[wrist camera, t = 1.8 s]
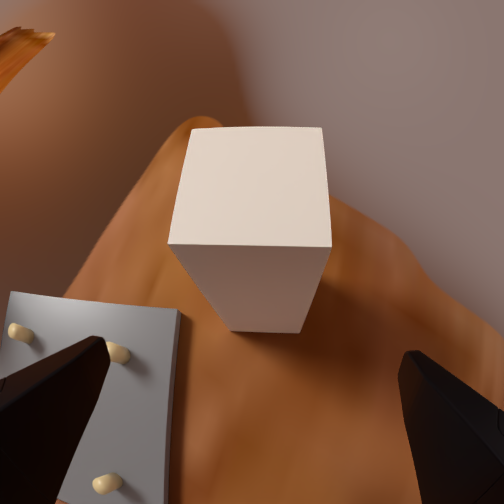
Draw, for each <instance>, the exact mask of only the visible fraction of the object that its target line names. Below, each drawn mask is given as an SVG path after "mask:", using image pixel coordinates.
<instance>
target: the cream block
mask: <svg viewBox="0 0 504 504" xmlns="http://www.w3.org/2000/svg"><path fill="white" fill-rule="evenodd" d="M168 245H169V247H170V248H171V250H172V251H173V253H174V254H175V255H176V257H177V258H178V260H179V261H180V263H181V264H182V265H183V267H184V268H185V270H186V271H187V273H188V274H189V275H190V277H191V278H192V280H193V281H194V282H195V284H196V285H197V287H198V288H199V289H200V291H201V292H202V294H203V295H204V296H205V298H206V299H207V300H208V302H209V303H210V305H211V306H212V307H213V309H214V310H215V311H216V313H217V314H218V315H219V317H220V318H221V319H222V321H223V322H224V323H225V325H226V326H227V327H228V329H229V330H230V331H243V332H269V333H300V331H301V329H302V326H303V323H304V321H305V318H306V316H307V313H308V311H309V308H310V306H311V303H312V300H313V298H314V295H315V292H316V290H317V287H318V284H319V282H320V279H321V276H322V273H323V271H324V268H325V265H326V262H327V260H328V257H329V254H330V251H331V248H332V240H331V223H330V209H329V196H328V185H327V174H326V163H325V154H324V144H323V135H322V128H311V127H223V128H202V129H192V132H191V136H190V140H189V144H188V148H187V152H186V157H185V161H184V165H183V170H182V174H181V179H180V183H179V188H178V193H177V198H176V203H175V207H174V213H173V218H172V223H171V228H170V234H169V239H168Z"/></svg>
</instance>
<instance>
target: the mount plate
mask: <svg viewBox="0 0 504 504" xmlns="http://www.w3.org/2000/svg"><path fill="white" fill-rule="evenodd" d="M180 321H181V312H180V311H179V310H178V309H169V308H156V307H143V306H132V305H121V304H111V303H101V302H92V301H83V300H74V299H66V298H58V297H50V296H42V295H35V294H28V293H21V292H14V291H11V294H10V298H9V303H8V308H7V313H6V318H5V324H4V329H3V335H2V341H1V348H0V379H2V378H4V377H7V376H8V375H11V374H13V373H15V372H17V371H19V370H21V369H23V368H25V367H27V366H29V365H31V364H33V363H35V362H37V361H40V360H42V359H44V358H46V357H48V356H50V355H52V354H54V353H56V352H58V351H60V350H62V349H64V348H66V347H69V346H71V345H73V344H75V343H77V342H79V341H81V340H83V339H85V338H87V337H89V336H92V335H94V336H101V337H103V338H104V339H105V341H106V345H107V348H108V351H109V354H110V358H111V363H110V367H109V370H108V372H107V375H106V378H105V381H104V384H103V387H102V390H101V393H100V396H99V399H98V401H97V404H96V406H95V409H94V411H93V413H92V415H91V417H90V420H89V422H88V424H87V426H86V429H85V431H84V433H83V436H82V438H81V440H80V443H79V445H78V447H77V450H76V452H75V454H74V457H73V459H72V462H71V464H70V466H69V469H68V471H67V474H66V476H65V479H64V481H63V484H62V487H61V489H60V492H59V494H58V497H57V498H58V499H60V500H62V501H64V502H67V503H69V504H168V488H169V459H170V439H171V422H172V407H173V394H174V381H175V370H176V359H177V349H178V339H179V330H180Z"/></svg>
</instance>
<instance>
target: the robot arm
mask: <svg viewBox="0 0 504 504" xmlns="http://www.w3.org/2000/svg"><path fill="white" fill-rule="evenodd" d="M110 363H111V358H110V354H109V351H108V348H107V345H106V341H105V339H104V338H103V337H101V336H94V335H92V336H89V337H87V338H85V339H83V340H81V341H79V342H77V343H75V344H73V345H71V346H69V347H66V348H64V349H62V350H60V351H58V352H56V353H54V354H52V355H50V356H48V357H46V358H44V359H42V360H40V361H37V362H35V363H33V364H31V365H29V366H27V367H25V368H23V369H21V370H19V371H17V372H15V373H13V374H11V375H8V376H7V377H4V378H2V379H0V504H55V502H56V500H57V497H58V494H59V492H60V489H61V487H62V484H63V481H64V479H65V476H66V474H67V471H68V469H69V466H70V464H71V462H72V459H73V457H74V454H75V452H76V450H77V447H78V445H79V443H80V440H81V438H82V436H83V433H84V431H85V429H86V426H87V424H88V422H89V420H90V417H91V415H92V413H93V411H94V409H95V406H96V404H97V401H98V399H99V396H100V393H101V390H102V387H103V384H104V381H105V378H106V375H107V372H108V370H109V367H110ZM398 383H399V389H400V396H401V403H402V410H403V417H404V423H405V427H406V431H407V435H408V440H409V444H410V448H411V452H412V457H413V461H414V466H415V470H416V475H417V480H418V485H419V490H420V495H421V501H422V504H504V411H502V410H501V409H498V407H497V406H495V405H494V404H493V403H491V402H490V401H489V400H487V399H486V398H484V397H483V396H482V395H480V394H479V393H478V392H476V391H475V390H473V389H472V388H471V387H469V386H468V385H467V384H465V383H464V382H462V381H461V380H460V379H458V378H457V377H455V376H454V375H453V374H451V373H450V372H449V371H447V370H446V369H444V368H443V367H442V366H440V365H439V364H437V363H436V362H435V361H433V360H432V359H430V358H429V357H428V356H426V355H425V354H423V353H422V352H421V351H419V350H412V351H407V352H405V354H404V356H403V359H402V363H401V366H400V369H399V372H398Z"/></svg>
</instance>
